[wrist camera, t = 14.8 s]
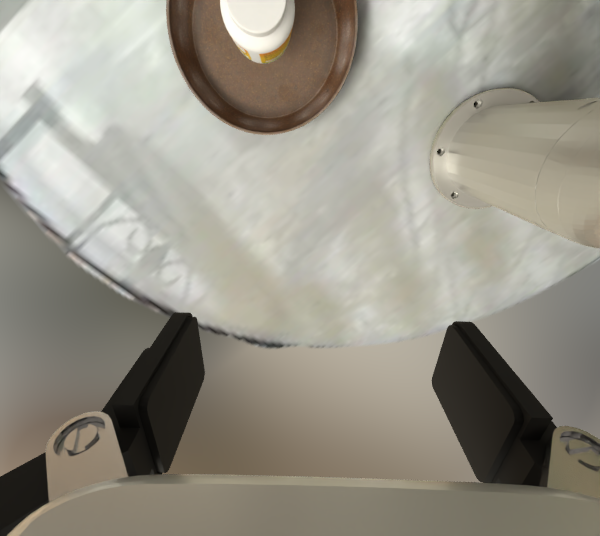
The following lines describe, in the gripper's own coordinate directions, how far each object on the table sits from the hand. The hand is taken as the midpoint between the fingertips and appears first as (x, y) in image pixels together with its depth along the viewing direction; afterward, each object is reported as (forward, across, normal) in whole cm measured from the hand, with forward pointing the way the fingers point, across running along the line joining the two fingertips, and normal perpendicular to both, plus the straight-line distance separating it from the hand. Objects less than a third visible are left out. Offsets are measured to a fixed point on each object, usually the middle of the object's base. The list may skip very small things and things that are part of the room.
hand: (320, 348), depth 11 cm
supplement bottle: (+26, +5, -15) cm, 30 cm away
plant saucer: (+29, +5, -15) cm, 33 cm away
